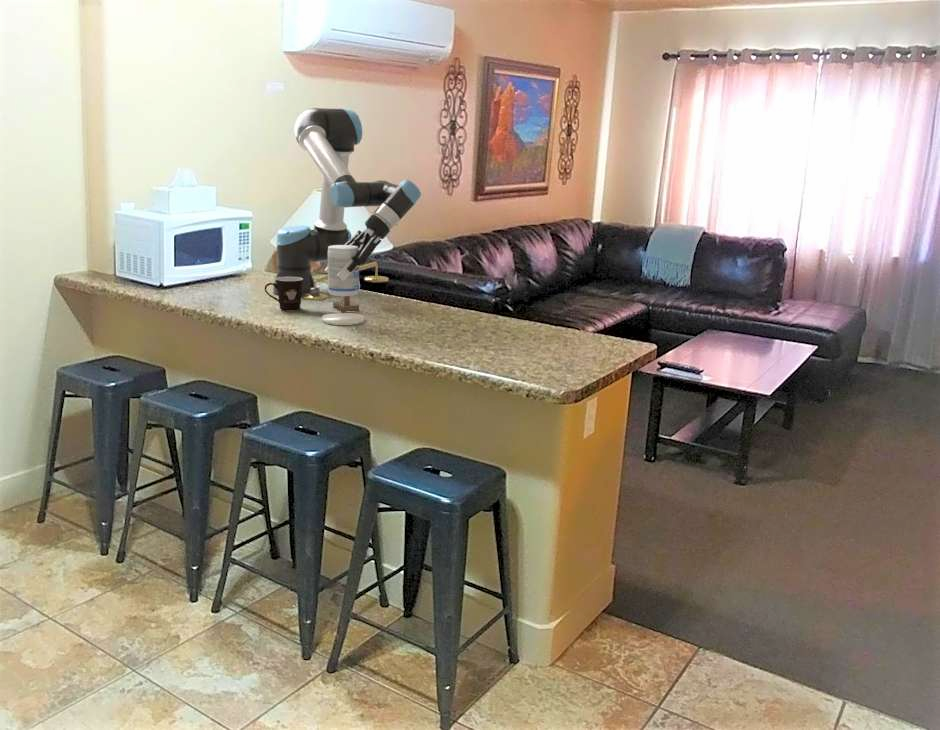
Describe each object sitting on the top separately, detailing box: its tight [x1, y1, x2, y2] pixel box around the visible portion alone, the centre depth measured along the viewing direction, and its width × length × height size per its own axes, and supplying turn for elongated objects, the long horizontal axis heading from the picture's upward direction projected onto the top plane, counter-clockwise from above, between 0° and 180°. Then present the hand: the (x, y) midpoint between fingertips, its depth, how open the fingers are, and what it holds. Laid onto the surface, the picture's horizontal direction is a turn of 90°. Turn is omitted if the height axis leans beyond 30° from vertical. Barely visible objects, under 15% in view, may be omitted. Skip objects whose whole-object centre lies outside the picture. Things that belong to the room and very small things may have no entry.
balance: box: [301, 261, 389, 313], centre depth 293 cm, size 8×30×15 cm, turn 120°
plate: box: [321, 312, 365, 326], centre depth 278 cm, size 13×13×1 cm
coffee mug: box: [264, 277, 303, 312], centre depth 292 cm, size 12×9×10 cm
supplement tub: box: [327, 245, 360, 297], centre depth 274 cm, size 10×10×15 cm
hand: (334, 275), depth 273 cm, fingers closed on supplement tub, 10 cm apart
